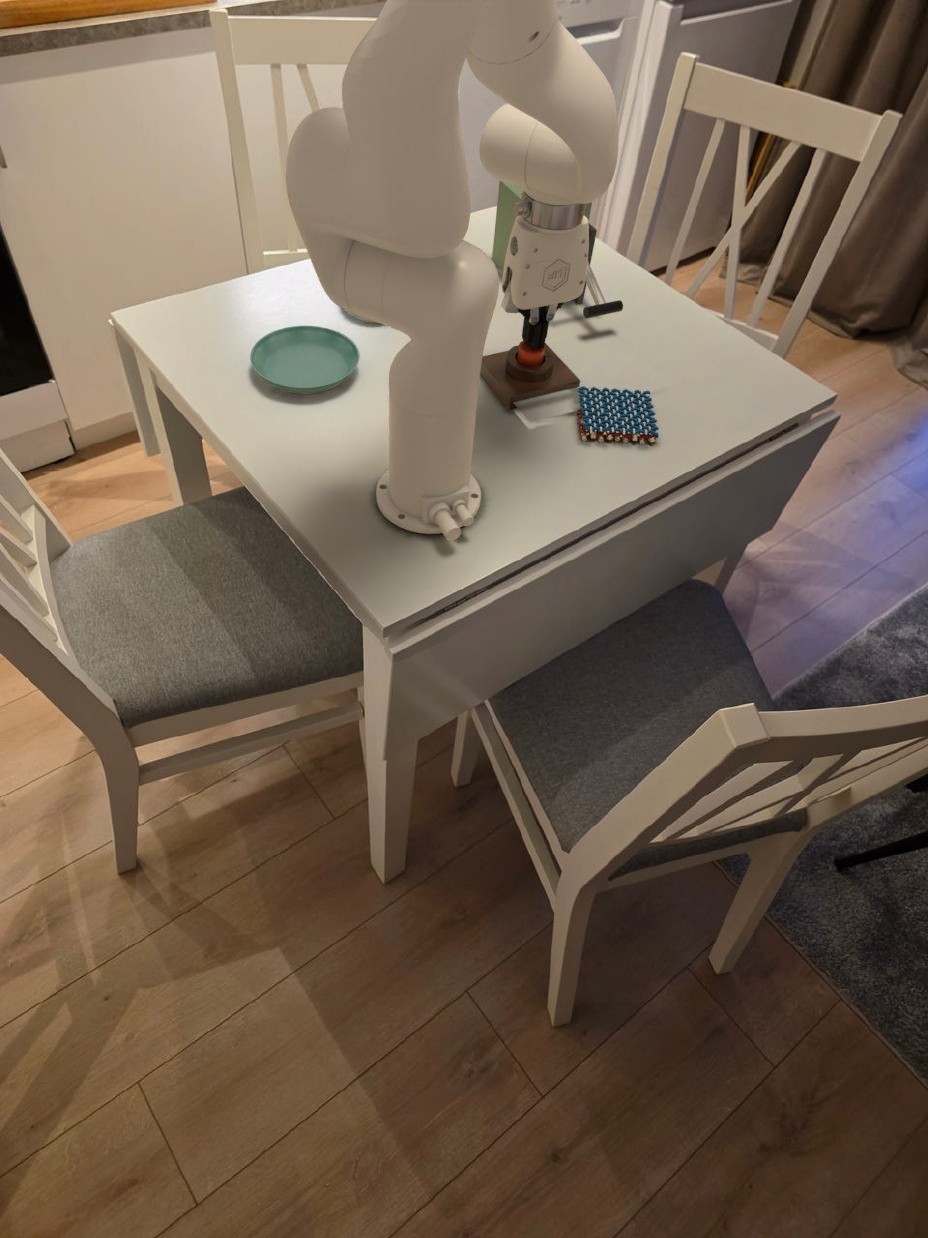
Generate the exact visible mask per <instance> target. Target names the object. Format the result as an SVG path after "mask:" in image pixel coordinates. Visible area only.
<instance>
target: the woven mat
mask: <svg viewBox="0 0 928 1238" xmlns="http://www.w3.org/2000/svg"><path fill="white" fill-rule="evenodd" d="M577 390H578V393H579V395H578V400H579V401H577V404H578V403H579V404H580V409H577V411H576V412H577V416H578V421H577V424H578V425H579V426H580V427H579V428H578V430H579V433H580V435H581V441H582V442H586V441H588V437H587V436H589V437H590V439H594V440H595V439H596V438H597V441H598V442H599V443H602V444H603V443H604V441H605V440H604V436H605V437H606V439H607V440H608V441H611V440H612V439H613V438H614V441H615V442H616V443H619V442H620V441H621V438H622V442H623V443H625V444H626V443H627V444H628V442H629V439H630V440H631V441H632V442H638V441H639V445H640V446H644V445H646V444H645V439H647V442H649V443H650V444H652V443H654V442H655V441H656V439H659V432H657V431H659V426H657V423H658V419H656V418H655V417H654V416H656V412H655V411H654V410H652V409H654V407H655V406H654V405H653V403H651V402H652V401H653V398H652V397H651V396H650V394H651V390H644V391H643V390H639V389H638V388H636V389H635V390H633V389H631V390H629V389H628V388H626V387H625V388H624V389H618V388H617V387H615V388H611V387H609V388H607V386H604V388H602V387H599V388H597V387H596V385H593V386H592V387H591V386H586V385H583V386H579V387H577Z"/></svg>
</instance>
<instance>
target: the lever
mask: <svg viewBox="0 0 928 1238" xmlns="http://www.w3.org/2000/svg"><path fill="white" fill-rule="evenodd" d="M585 281H586V283H587V284H586V286H587V288H588V290H589V292H590V295H591V298H592V299H593V302H594V305H588V306H585V307H583V309H582V314H583V317H584V318H585V319H591V318H596V317H601V316H605V315H610V314H615V313H618V312H619V313H620V312H622V311H623V309H624V304H623V301H622V300H620V299H619V300H614V301H608V302H606V300H605V297H604V295H603V292H602V291H601V288H600V286H599V283H598V280H597V279H596V276H595V274H594V271H593V269H592V267H591V263H590V264H589V262H588V263H587V272H586V279H585Z"/></svg>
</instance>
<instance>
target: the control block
mask: <svg viewBox="0 0 928 1238" xmlns="http://www.w3.org/2000/svg"><path fill="white" fill-rule="evenodd" d="M544 346H545V352H544V359H543V362H542V364H541V365H538V366H526V365H523V364H521V363H520V362H519V361H518V359H517V356H518V349H519V344H518V345H514V346H512V347H511V348H509V350H505V351H500V352H496V353H491V354H486V355H483V357H482V363H481V371H480V377H481V378H482V379H483V380H484V381H485V383H486V384H487V386H488V387H490V388H491V390H492V391H493V392H494V393H495V395H496V396H497V397H498V399H499V400H500V401H501V402H502V404H503V405H504V406H505V408H507V409H508V410H509V411H512V410H516V409H518V408H519V407H518V406H517V405H516V404H515V403H517V402H520V401H524V400H531V399H533V398H538V397H542V396H546V395H550V394H554V393H558V392H562V391H563V392H564V391H566V390H570V389H575V388H580V384H581V379H580V378H579V377H578V375H576V374H575V373H574V372H573V371H572V370H571V369H570V368H569V367H568V365H567V364H566V363H565V362H564V361H563V360H562V359H561V358H560V357H559V356H558V355H557V354H556V353H555V351H554V350H553V349H552V348H551V347H550V346H549V345H548V344H547V343H546V342H545V345H544Z"/></svg>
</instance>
